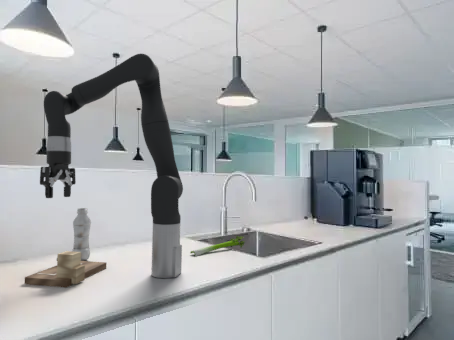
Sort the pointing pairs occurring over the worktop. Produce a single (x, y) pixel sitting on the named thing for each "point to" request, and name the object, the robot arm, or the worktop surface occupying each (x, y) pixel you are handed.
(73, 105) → the robot arm
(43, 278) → the board
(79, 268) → the stepped wooden block
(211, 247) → the leek
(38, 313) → the worktop surface
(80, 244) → the plastic bottle
